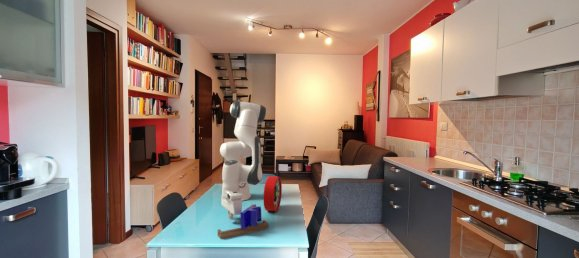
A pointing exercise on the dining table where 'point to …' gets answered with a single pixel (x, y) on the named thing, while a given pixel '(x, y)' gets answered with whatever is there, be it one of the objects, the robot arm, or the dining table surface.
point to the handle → (242, 230)
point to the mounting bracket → (251, 216)
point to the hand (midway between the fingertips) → (230, 218)
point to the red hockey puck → (272, 193)
